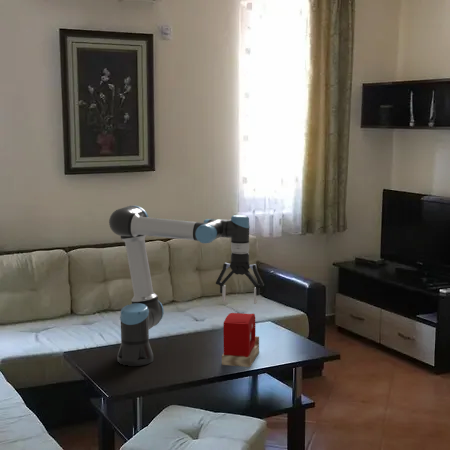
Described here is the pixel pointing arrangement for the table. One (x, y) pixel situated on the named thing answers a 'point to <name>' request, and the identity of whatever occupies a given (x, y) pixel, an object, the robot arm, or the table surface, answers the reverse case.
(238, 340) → the fire alarm
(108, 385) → the table surface
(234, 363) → the wooden toy bed
